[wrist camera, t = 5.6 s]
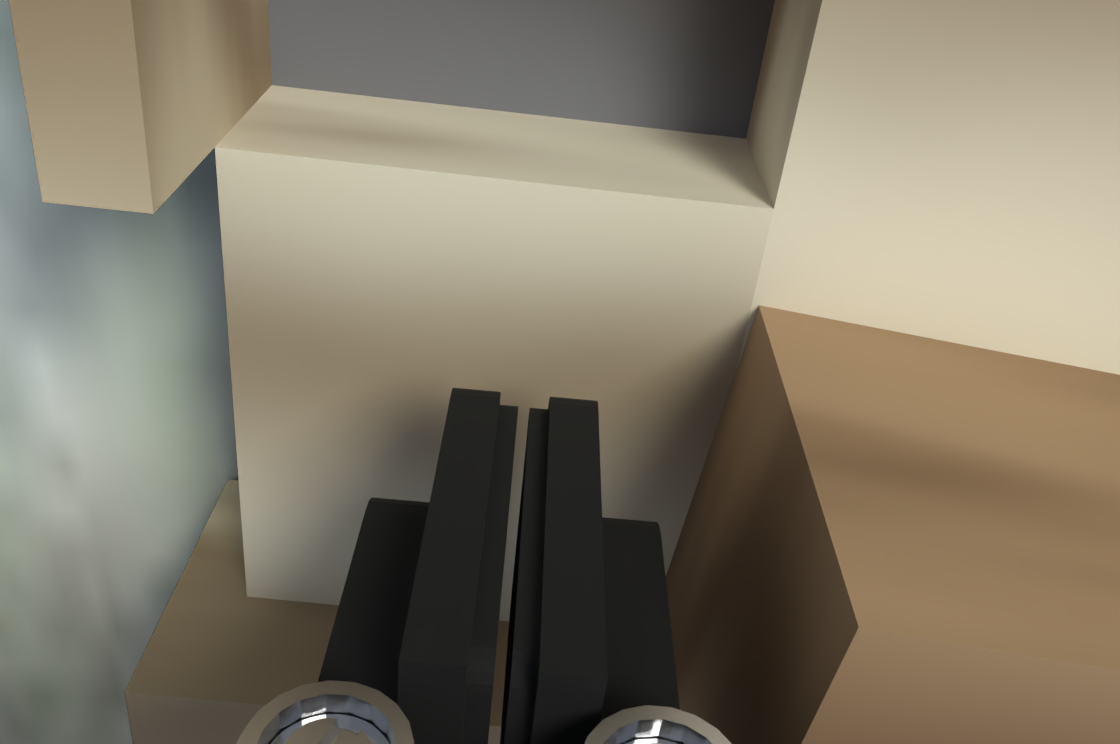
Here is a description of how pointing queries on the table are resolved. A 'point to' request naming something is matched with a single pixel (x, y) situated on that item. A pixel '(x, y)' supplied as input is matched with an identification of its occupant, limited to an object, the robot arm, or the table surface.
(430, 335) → the tray
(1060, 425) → the block
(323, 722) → the robot arm
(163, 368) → the table surface
